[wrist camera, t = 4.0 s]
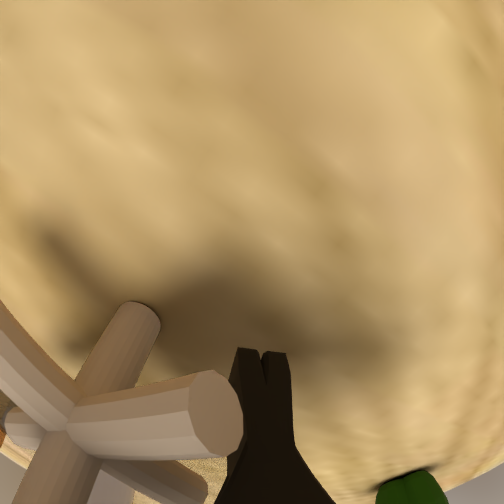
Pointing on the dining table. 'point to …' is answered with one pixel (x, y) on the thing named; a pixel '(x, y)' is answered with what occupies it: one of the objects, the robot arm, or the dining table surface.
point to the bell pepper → (412, 490)
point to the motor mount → (4, 413)
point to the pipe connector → (113, 416)
